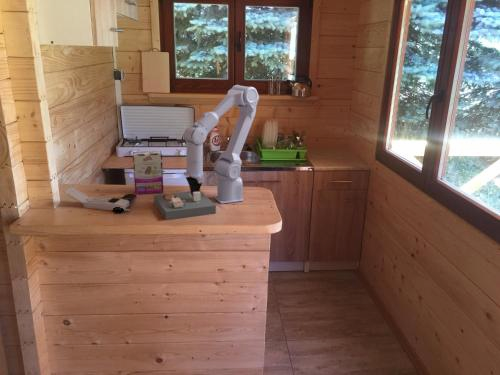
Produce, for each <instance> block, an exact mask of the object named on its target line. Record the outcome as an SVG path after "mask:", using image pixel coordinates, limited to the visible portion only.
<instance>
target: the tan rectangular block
mask: <svg viewBox="0 0 500 375" xmlns="http://www.w3.org/2000/svg"><path fill="white" fill-rule="evenodd" d="M193 201H201V193H200V192H199V191H198V192H193Z"/></svg>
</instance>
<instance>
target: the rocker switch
mask: <svg viewBox="0 0 500 375" xmlns="http://www.w3.org/2000/svg"><path fill="white" fill-rule="evenodd" d="M171 201H172V204H173V205H174V207H175V208H176V207H183V203H182V201H181V199H180V198H179V197H177V198H171Z"/></svg>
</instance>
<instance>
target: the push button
mask: <svg viewBox="0 0 500 375" xmlns="http://www.w3.org/2000/svg"><path fill="white" fill-rule="evenodd" d="M165 194H166V195H165V200H167V199H171V198H175V195H173V194H170V193H165Z"/></svg>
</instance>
